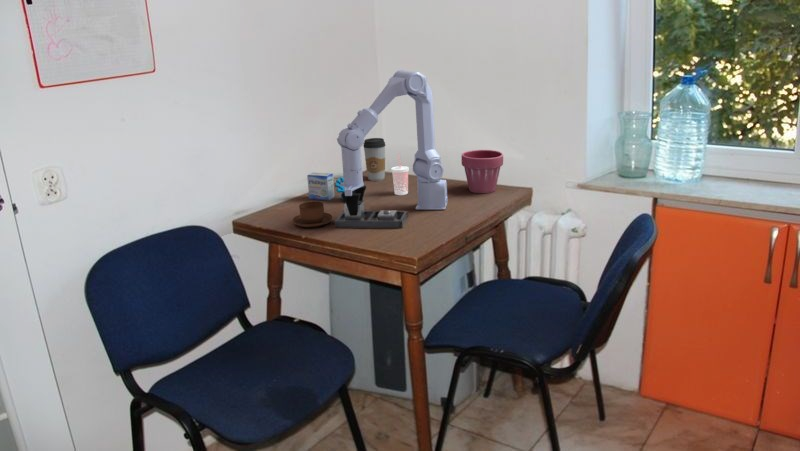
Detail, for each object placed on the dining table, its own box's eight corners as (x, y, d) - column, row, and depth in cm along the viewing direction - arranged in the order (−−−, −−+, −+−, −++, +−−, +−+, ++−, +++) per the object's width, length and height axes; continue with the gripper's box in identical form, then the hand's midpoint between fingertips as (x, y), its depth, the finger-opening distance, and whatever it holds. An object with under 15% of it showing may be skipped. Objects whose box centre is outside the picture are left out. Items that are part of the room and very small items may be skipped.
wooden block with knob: (397, 219, 207) (396, 208, 206) (394, 224, 202) (393, 213, 201) (381, 219, 208) (380, 208, 207) (378, 224, 203) (377, 213, 202)
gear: (345, 200, 224) (332, 176, 227) (336, 211, 228) (323, 187, 231) (369, 197, 232) (356, 174, 235) (360, 207, 236) (347, 184, 239)
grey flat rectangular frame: (407, 217, 209) (407, 210, 208) (402, 228, 199) (401, 221, 198) (343, 216, 213) (343, 210, 212) (335, 227, 203) (334, 221, 202)
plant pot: (511, 188, 234) (511, 152, 230) (485, 197, 225) (484, 160, 221) (480, 182, 244) (480, 147, 240) (453, 190, 235) (452, 154, 231)
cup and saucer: (285, 225, 208) (283, 206, 206) (316, 215, 216) (314, 197, 214) (309, 232, 200) (307, 213, 198) (340, 222, 208) (339, 203, 206)
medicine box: (308, 199, 234) (306, 174, 232) (315, 195, 238) (312, 171, 235) (329, 200, 231) (326, 176, 229) (335, 197, 235) (333, 172, 233)
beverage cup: (410, 195, 233) (408, 155, 228) (392, 195, 233) (390, 156, 228) (410, 190, 238) (408, 151, 234) (392, 191, 239) (390, 152, 234)
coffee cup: (363, 181, 253) (360, 142, 249) (368, 176, 261) (365, 137, 256) (385, 181, 252) (382, 141, 247) (389, 176, 260) (387, 137, 255)
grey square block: (364, 217, 208) (363, 199, 207) (361, 222, 204) (359, 204, 202) (349, 217, 209) (347, 199, 208) (345, 222, 205) (343, 204, 203)
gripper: (345, 163, 209) (348, 205, 213) (333, 175, 195) (336, 219, 200) (367, 163, 208) (370, 205, 212) (356, 174, 194) (360, 219, 198)
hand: (355, 212), depth 206 cm, fingers closed on grey square block, 5 cm apart
